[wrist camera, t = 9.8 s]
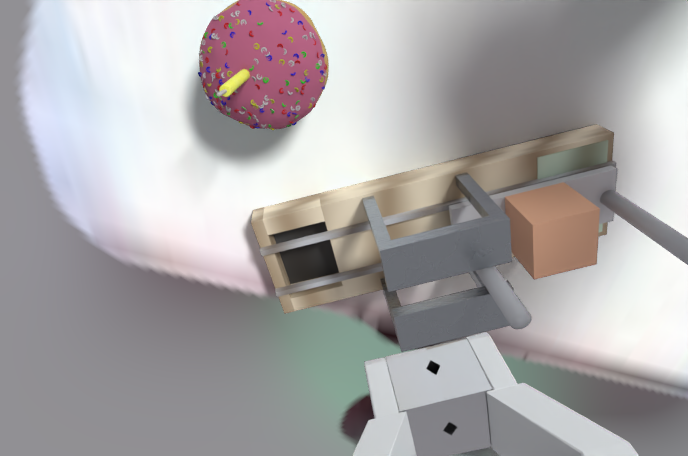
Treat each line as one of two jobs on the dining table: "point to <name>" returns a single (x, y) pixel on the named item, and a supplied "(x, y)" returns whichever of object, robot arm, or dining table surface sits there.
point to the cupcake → (263, 63)
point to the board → (400, 213)
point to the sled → (562, 229)
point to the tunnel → (444, 270)
